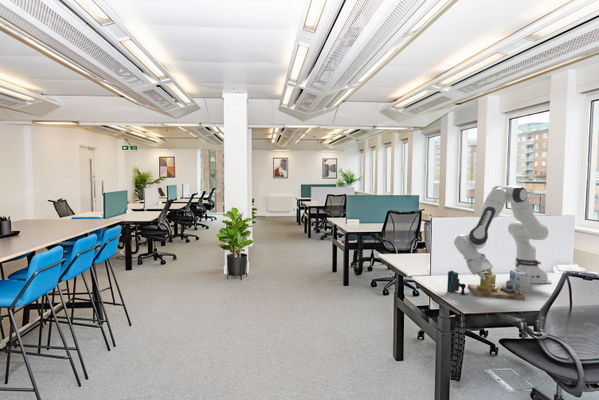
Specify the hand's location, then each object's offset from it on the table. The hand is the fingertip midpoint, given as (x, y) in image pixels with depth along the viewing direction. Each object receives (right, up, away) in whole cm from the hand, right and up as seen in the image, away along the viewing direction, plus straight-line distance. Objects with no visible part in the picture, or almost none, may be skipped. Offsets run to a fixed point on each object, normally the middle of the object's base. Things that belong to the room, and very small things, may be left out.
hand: (489, 278), depth 225 cm
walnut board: (+3, -9, -1) cm, 10 cm away
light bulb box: (+24, -9, +10) cm, 27 cm away
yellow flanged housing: (0, -7, +1) cm, 7 cm away
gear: (+11, -7, -1) cm, 13 cm away
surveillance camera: (-19, -9, -1) cm, 21 cm away
